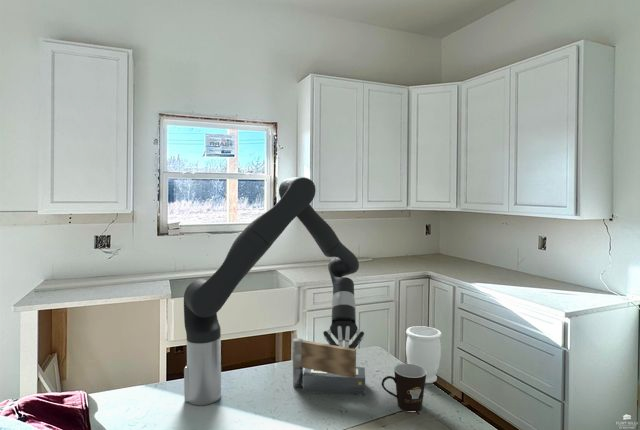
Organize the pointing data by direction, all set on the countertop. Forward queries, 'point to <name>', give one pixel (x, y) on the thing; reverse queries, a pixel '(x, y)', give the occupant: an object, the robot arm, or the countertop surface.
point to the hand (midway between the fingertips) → (343, 363)
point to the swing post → (297, 377)
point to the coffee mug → (408, 386)
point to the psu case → (334, 382)
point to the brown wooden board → (324, 357)
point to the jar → (424, 349)
